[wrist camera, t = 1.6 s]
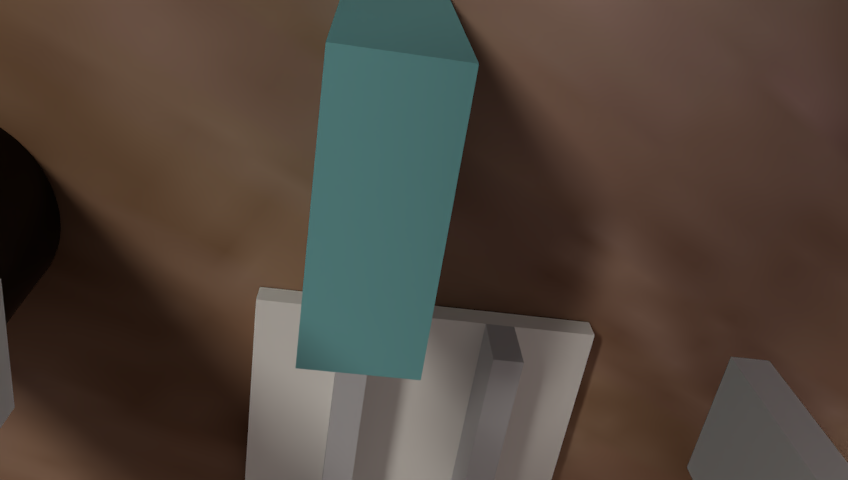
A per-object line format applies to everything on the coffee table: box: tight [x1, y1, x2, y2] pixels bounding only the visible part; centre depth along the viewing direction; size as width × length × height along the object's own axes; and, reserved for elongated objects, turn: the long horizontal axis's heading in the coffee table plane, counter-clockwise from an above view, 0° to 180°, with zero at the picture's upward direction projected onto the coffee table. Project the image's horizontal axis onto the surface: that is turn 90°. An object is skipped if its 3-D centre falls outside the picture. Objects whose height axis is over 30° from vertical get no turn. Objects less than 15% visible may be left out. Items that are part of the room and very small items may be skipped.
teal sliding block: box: [296, 0, 479, 380], centre depth 24 cm, size 9×4×10 cm, turn 171°
